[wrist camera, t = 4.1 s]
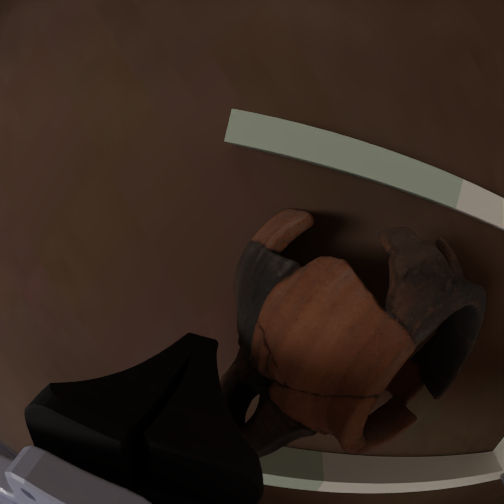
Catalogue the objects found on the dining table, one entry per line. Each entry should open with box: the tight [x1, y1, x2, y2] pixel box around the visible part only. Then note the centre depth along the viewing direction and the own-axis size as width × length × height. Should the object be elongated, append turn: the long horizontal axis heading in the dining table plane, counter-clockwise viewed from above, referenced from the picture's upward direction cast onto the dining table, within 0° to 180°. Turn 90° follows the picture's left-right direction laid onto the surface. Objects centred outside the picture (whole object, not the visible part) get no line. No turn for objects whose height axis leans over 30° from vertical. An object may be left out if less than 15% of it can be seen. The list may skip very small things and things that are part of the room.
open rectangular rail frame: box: [224, 109, 504, 493], centre depth 9 cm, size 18×26×12 cm
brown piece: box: [220, 209, 486, 458], centre depth 12 cm, size 12×10×8 cm
